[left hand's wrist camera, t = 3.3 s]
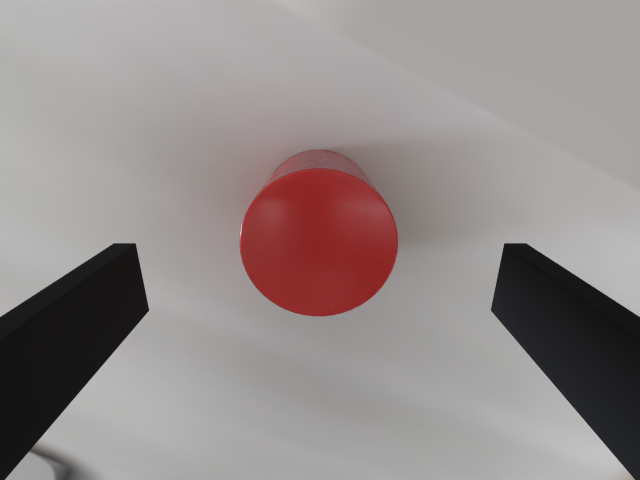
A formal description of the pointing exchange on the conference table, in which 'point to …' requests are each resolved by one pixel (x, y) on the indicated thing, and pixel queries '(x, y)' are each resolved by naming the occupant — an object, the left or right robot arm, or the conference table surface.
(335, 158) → the canister
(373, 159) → the conference table surface
